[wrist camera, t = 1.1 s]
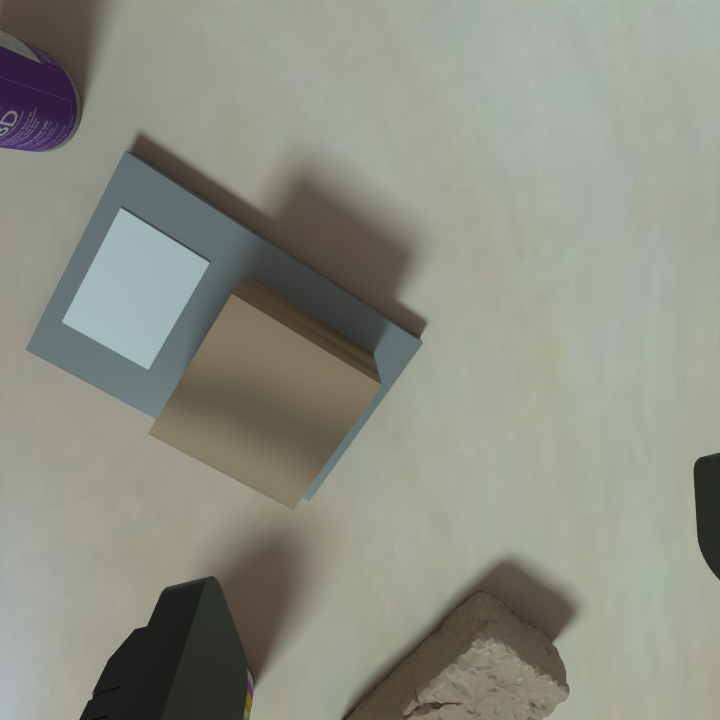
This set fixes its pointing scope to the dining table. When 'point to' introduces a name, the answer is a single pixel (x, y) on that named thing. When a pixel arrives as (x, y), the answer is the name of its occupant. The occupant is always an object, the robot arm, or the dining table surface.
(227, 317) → the walnut plinth
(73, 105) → the container
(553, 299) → the dining table surface
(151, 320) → the slate board
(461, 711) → the brick
